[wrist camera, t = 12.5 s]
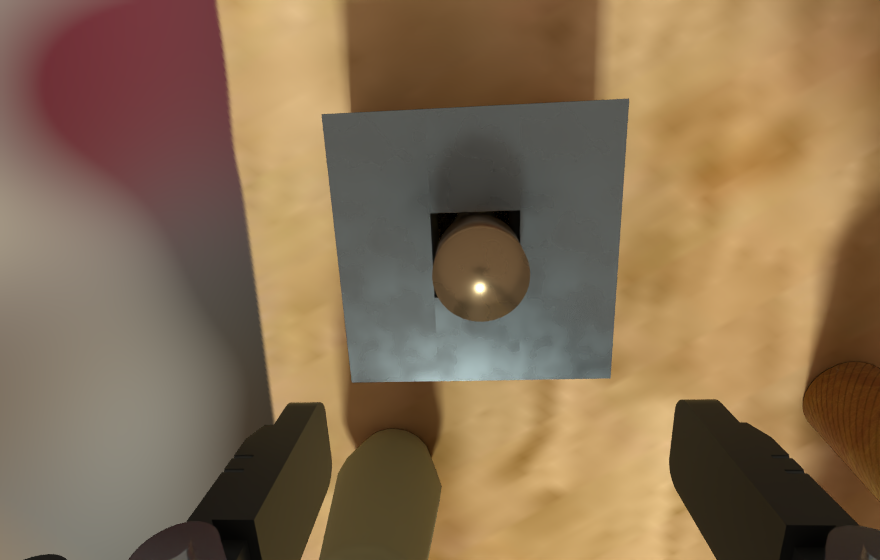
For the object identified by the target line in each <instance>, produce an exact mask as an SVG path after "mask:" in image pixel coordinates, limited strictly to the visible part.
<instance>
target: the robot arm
mask: <svg viewBox="0 0 880 560" xmlns="http://www.w3.org/2000/svg"><path fill="white" fill-rule="evenodd" d="M669 466H670V474H671V478H672V481H673V484H674V487H675V489H676V491H677V493H678V494H679V496H680V498H681V499H682V501H683V503H684V504H685V506H686V508H687V510H688V511H689V513H690V515H691V516H692V518H693V520H694V522H695V523H696V525H697V527H698V528H699V530H700V532H701V534H702V535H703V537H704V539H705V540H706V542H707V544H708V545H709V547H710V549H711V551H712V552H713V554H714V556H715V557H716V559H717V560H880V531H879V530H876V529H872V528H868V527H863V526H859V525H858V524H857V523H856V522H855V521H854V520H853V519H852V518H851V517H850V516H849V515H848V514H847V513H846V512H845V511H844V510H843V509H842V508H841V507H840V506H839V505H838V504H837V503H836V502H835V501H834V500H833V499H832V498H831V497H830V496H829V495H828V494H827V493H826V492H825V491H824V490H823V489H822V488H821V487H820V486H819V485H818V484H817V483H816V482H815V481H814V480H813V478H812V477H811V476H810V475H809V474H805V473H804V469H803V468H802V467H801V466H800V465H799V464H798V463H797V462H796V461H795V460H794V459H793V458H789V454H788V453H787V452H786V451H785V450H784V449H783V448H782V447H781V446H780V445H779V444H778V443H777V442H776V441H775V440H774V439H773V438H772V437H770V436H768V435H767V434H765V433H763V432H762V431H760V430H758V429H757V428H755V427H753V426H751V425H750V424H748V423H740V422H739V421H738V420H737V419H736V418H735V417H734V416H733V415H732V414H731V413H730V412H729V411H728V410H727V409H726V407H725V406H724V405H723V404H722V403H721V402H720V401H718V400H715V399H707V400H679V401H678V402H677V404H676V407H675V414H674V423H673V431H672V440H671V449H670V457H669ZM331 472H332V458H331V450H330V442H329V435H328V427H327V420H326V412H325V408H324V405H323V404H322V403H321V402H313V403H289V404H287V406H286V407H285V409H284V410H283V412H282V413H281V415H280V416H279V418H278V419H277V421H276V422H275V424H274V425H264V426H263V427H261V428H260V429H259V430H257V431H256V432H255V433H253V434H252V435H250V436H249V437H248V438H246V440H245V441H244V442H243V444H242V445H241V447H240V448H239V449H238V451H237V452H236V454H235V455H234V458H233V459H231V460H230V462H229V463H228V465H227V466H226V467H225V470H224V472H222V473H221V474H220V476H219V477H218V479H217V480H216V481H215V483H214V484H213V485H212V487H211V488H210V490H209V491H208V492H207V494H206V495H205V497H204V498H203V500H202V501H201V502H200V504H199V505H198V506H197V508H196V509H195V510H194V512H193V513H192V515H191V516H190V517H189V519H188V520H187V522H184V523H180V524H176V525H174V526H171V527H168V528H166V529H164V530H162V531H160V532H158V533H157V534H155V535H153V536H152V537H150V538H149V539H148V540H146V541H145V542H144V543H143V544H141V545H140V546H139V547H138V549H136V550H135V552H134V553H133V554H132V555H131V557H130V558H129V560H301V557H302V554H303V552H304V549H305V547H306V544H307V542H308V539H309V536H310V534H311V531H312V529H313V526H314V524H315V521H316V518H317V516H318V513H319V511H320V508H321V506H322V503H323V500H324V498H325V495H326V493H327V490H328V487H329V484H330V479H331ZM25 560H67V559H66V558H64V557H62V556H59V555H54V554H47V555H39V556H35V557H31V558H28V559H25Z"/></svg>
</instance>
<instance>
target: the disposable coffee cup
mask: <svg viewBox="0 0 880 560" xmlns="http://www.w3.org/2000/svg"><path fill="white" fill-rule="evenodd" d="M803 411H804V415H805V417H806V419H807V421H808V422H809V423H810V424H811V426H812V427H813V428H814V429H815V430H816V431H817V432H818V433H819V434H820V435H821V437H822V438H823V439H824V440H825V441H826V442H827V443H828V444H829V445H830V447H831V448H832V449H833V450H834V451H835V452H836V453H837V454H838V456H839V457H840V458H841V459H842V460H843V461H844V462H845V463H846V465H847V466H848V467H849V468H850V469H851V470H852V471H853V472H854V474H855V475H856V476H857V477H858V478H859V479H860V480H861V481H862V482H863V484H864V485H865V486H866V487H867V488H868V489H869V490H870V491H871V493H872V494H873V495H874V496H875V497H876V498H877V499H878V500H879V501H880V368H878V367H876V366H874V365H872V364H868V363H864V362H849V363H844V364H840V365H837V366H835V367H832V368H830V369H828V370H826V371H825V372H823V373H822V374H820V375H819V376H818V377H817V378H816V379H815V380H814V381H813V382H812V384H811V385H810V386H809V388H808V390H807V391H806V393H805V397H804V400H803Z"/></svg>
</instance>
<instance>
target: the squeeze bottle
mask: <svg viewBox="0 0 880 560" xmlns="http://www.w3.org/2000/svg"><path fill="white" fill-rule="evenodd" d="M441 487H442V486H441V483H440V480H439V477H438V475H437V472H436V469H435V466H434V464H433V461H432V459H431V456H430V454H429V451H428V449H427V446H426V445H425V444H424V443H423V442H422V441H421V440H420V439H419V438H418V436H416V435H414V434H412V433H410V432H408V431H406V430H399V429H387V430H382V431H378V432H376V433H375V434H373V435H372V436H370V437H369V438H368V439H366V440H365V441H364V442H363V443H362V444H361V445H360V446H359V447H358V448H357V449H356V450H355V451H354V452H353V453H352V454H351V455H350V456H349V457H348V458H347V459H346V461H345V463H344V464H343V466H342V468H341V469H340V471H339V473H338V476H337V481H336V485H335V490H334V495H333V499H332V504H331V508H330V513H329V517H328V522H327V526H326V531H325V535H324V540H323V544H322V549H321V553H320V558H319V560H428V556H429V551H430V547H431V542H432V537H433V532H434V527H435V522H436V517H437V512H438V507H439V501H440V494H441Z"/></svg>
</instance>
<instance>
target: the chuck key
mask: <svg viewBox="0 0 880 560" xmlns="http://www.w3.org/2000/svg"><path fill="white" fill-rule="evenodd" d="M432 281H433V286H434V290H435V292H436V295H437V297H438V298H439V300H440V301H441V303H442V304H443V305H444V306H445V307H446V308H447V309H448V310H449V311H450V312H452V313H453V314H455V315H456V316H458V317H460V318H463V319H466V320H469V321H476V322H485V321H491V320H495V319H498V318H501V317H503V316H505V315H507V314H508V313H510V312H511V311H513V310H514V309H515V308H516V307H517V306H518V305H519V304H520V302H521V301H522V300H523V298H524V296H525V294H526V292H527V290H528V287H529V282H530V267H529V262H528V259H527V257H526V255H525V253H524V251H523V248H522V246H521V244H520V242H519V240H518V238H517V236H516V234H515V233H514V232H513V230H512V229H511V228H510V227H509V226H508V225H507V224H506V223H505V222H503V221H502V220H500V219H498V218H497V216H496V215H495V214H494V213H493V212H492V211H483V212H459V213H458V214H457V216H456V217H455V218H454V220H453V222H452V224H451V225H450V226H449V227H448V228H447V229H446V231H445V232H444V233H443V235H442V236H441V239H440V241H439V244H438V247H437V252H436V256H435V260H434V264H433V270H432Z"/></svg>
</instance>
